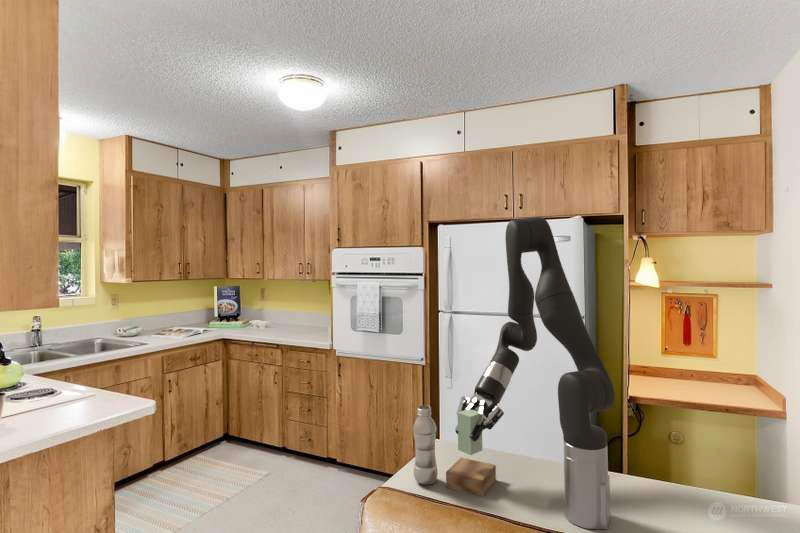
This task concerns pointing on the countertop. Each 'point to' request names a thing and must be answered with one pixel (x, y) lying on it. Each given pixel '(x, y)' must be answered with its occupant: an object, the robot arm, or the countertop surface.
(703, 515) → the countertop surface
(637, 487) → the countertop surface
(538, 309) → the robot arm
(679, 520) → the countertop surface
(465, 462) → the base
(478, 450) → the block
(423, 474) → the plastic bottle
